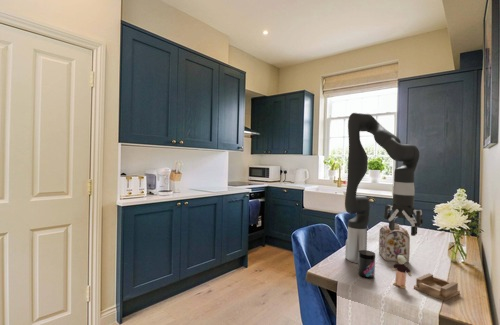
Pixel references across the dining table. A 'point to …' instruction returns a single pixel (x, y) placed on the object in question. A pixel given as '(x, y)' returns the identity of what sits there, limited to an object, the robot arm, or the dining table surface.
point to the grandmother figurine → (401, 272)
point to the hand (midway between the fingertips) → (402, 232)
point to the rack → (436, 287)
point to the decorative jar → (394, 243)
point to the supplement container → (366, 264)
